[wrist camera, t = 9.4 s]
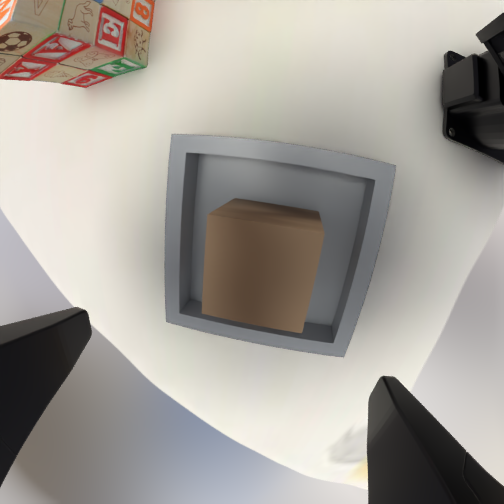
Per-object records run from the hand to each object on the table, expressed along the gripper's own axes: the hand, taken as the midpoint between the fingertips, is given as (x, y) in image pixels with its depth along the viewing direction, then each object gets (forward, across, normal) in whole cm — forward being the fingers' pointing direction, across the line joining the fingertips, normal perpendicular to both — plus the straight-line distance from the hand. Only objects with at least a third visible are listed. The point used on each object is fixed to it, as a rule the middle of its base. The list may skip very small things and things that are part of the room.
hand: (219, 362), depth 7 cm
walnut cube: (+11, 0, 0) cm, 11 cm away
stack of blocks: (+12, +14, -21) cm, 28 cm away
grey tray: (+11, 0, 0) cm, 11 cm away
